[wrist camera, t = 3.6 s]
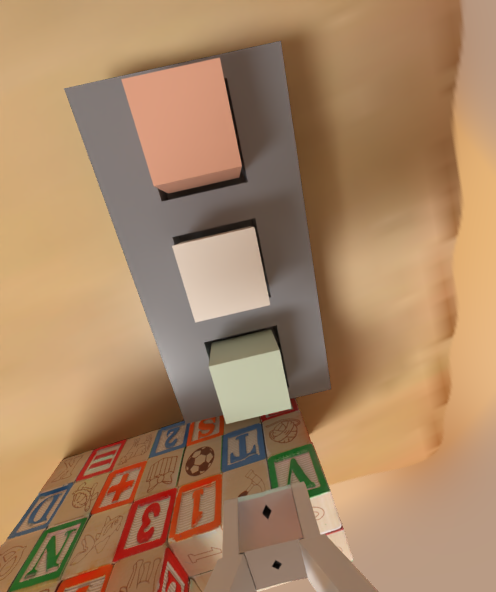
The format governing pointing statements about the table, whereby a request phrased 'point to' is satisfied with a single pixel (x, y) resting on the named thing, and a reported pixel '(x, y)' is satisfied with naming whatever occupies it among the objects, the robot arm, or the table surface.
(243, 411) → the sage button
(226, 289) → the cream button
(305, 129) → the table surface
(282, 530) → the robot arm
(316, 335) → the button panel
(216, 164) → the terracotta button
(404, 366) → the table surface
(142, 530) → the stack of blocks
